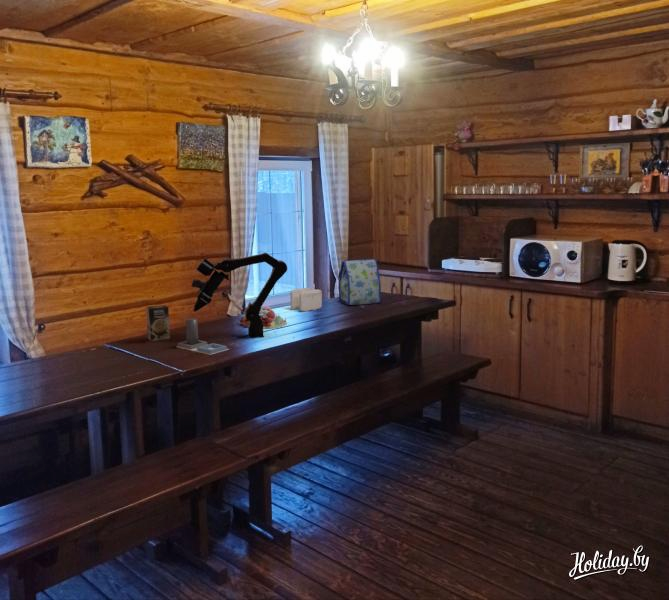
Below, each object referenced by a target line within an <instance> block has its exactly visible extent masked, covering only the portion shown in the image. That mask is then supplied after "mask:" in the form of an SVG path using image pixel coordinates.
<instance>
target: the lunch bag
mask: <svg viewBox="0 0 669 600" xmlns="http://www.w3.org/2000/svg"><path fill="white" fill-rule="evenodd" d="M338 278H339V279H338V301H339V303H340V304H346V305H347V306H358V305H368V304H369V305H370V304H377V303H378V304H380V303H381V302H382V287H381V280H380V279H381V278H380V272H379V266H378V260H377V259H375V258H365V259H351V260H350V259H349V260H342V262H341V265H340V270H339V273H338Z"/></svg>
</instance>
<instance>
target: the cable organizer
mask: <svg viewBox="0 0 669 600" xmlns="http://www.w3.org/2000/svg"><path fill="white" fill-rule="evenodd" d="M289 293H290V294H289V296H290V308H291V309H292V310H294V311H297V310H300V311H301V312H304V313H306V312H309V311H318V310H317V309H321V308H322V307H323V294H322V293H323V292H322V290H321V289H311V288H309V287H304V288H302V287H301V288H295V289H292V290H290V292H289Z"/></svg>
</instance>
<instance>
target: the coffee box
mask: <svg viewBox="0 0 669 600" xmlns="http://www.w3.org/2000/svg"><path fill="white" fill-rule="evenodd" d="M145 311H146V323H147V324H146V325H147V340H149V341H150V342H154V341H155V342H156V341H159V340H160V341H162V340H170V339H171V335H170V334H171V332H170V317H169V316H170V315H169V314H170V313H169V312H170V311H169V306H168V305H165V304H164V305H153V306H152V305H151V306H146V310H145Z"/></svg>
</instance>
